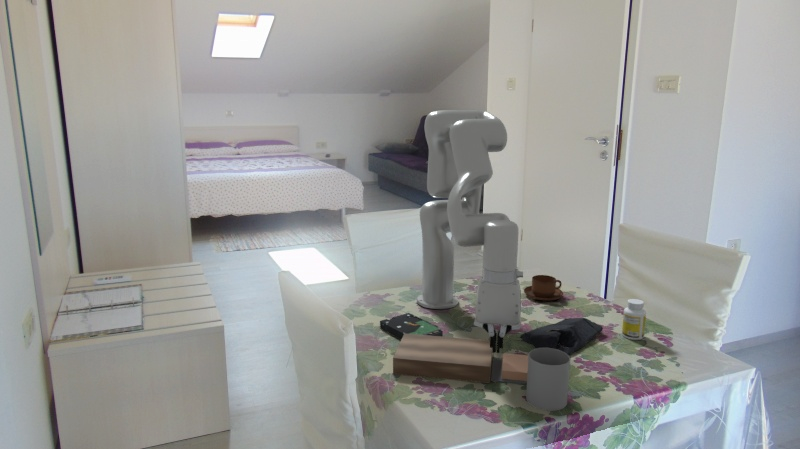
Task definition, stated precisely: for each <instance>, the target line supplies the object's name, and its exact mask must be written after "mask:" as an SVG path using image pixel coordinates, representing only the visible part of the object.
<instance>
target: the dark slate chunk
mask: <svg viewBox="0 0 800 449" xmlns="http://www.w3.org/2000/svg"><path fill="white" fill-rule="evenodd" d="M602 332H603V326H602V325H601V324H599V323H596V322H594V321H591V320H590V319H588V318H586V317H576V318H575V317H574V318H572V317H571V318H570V317H568V318H564V319H561V320H560V321H558V322H555V323H552V324H547V325H544V326H539V327H537V328H534V329H531V330H529V331H525V332H524V333H522V334H521V335H520V337H519V338H520V339H521V340H520V341H521V342H523V343H525V344H529V345H531V346H532V347H534V349H537V348H553V349H558V350H560V351H563V352H565V353H566V354H567V355H569V356H571V355H572V354H573V353H574V352H577V351H578V350H580V349H581V348H583V347H584V346H585V345H586V344H587V343H588V342H591V340H593V339H595V337H596V336H597V335H598V334H601V333H602Z"/></svg>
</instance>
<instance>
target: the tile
mask: <svg viewBox="0 0 800 449" xmlns="http://www.w3.org/2000/svg"><path fill="white" fill-rule="evenodd" d="M528 355H529V354H528ZM528 355H527V354H519V353H518V354H517V353H507V352H506V353H505V352H504V353H502V359H503V363H502V379H511V380H521V381H527V373H528Z"/></svg>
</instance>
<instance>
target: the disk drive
mask: <svg viewBox="0 0 800 449" xmlns="http://www.w3.org/2000/svg"><path fill="white" fill-rule="evenodd" d="M379 328H380V329H381V331H384V332H385V333H388V334H390V335H392V336H394V337H395V338H397V339H398V340H400V341H401V339H402V337H403V335H404V333H405V334H417V335H430V336H442V337H444V336H443V335H444V334H443V333H444V332H443V330H442V328H440V327H439V326H437V325H435V324H433V323H431V322H429V321H427V320H425V319H423V318H421V317H419V316H416V315H414V314H413V313H410V312H407V313H404V314H401V315H397V316H392V317H391V319H387V318H385V319H382V320H379Z"/></svg>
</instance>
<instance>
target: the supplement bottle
mask: <svg viewBox="0 0 800 449" xmlns="http://www.w3.org/2000/svg"><path fill="white" fill-rule="evenodd" d="M626 306H627V307H625V308H623V315H622V316H623V319H622V327H621V328H622V330H621V334H622V337H624V338H626V339H628V340H632V341H638V340H640V341H641V340H642V339H644V337H645V328H646V317H647V313H646V310H645V309H643V308H644V306H645V302H644V300H641V299H637V298H629V299H627V302H626Z"/></svg>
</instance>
